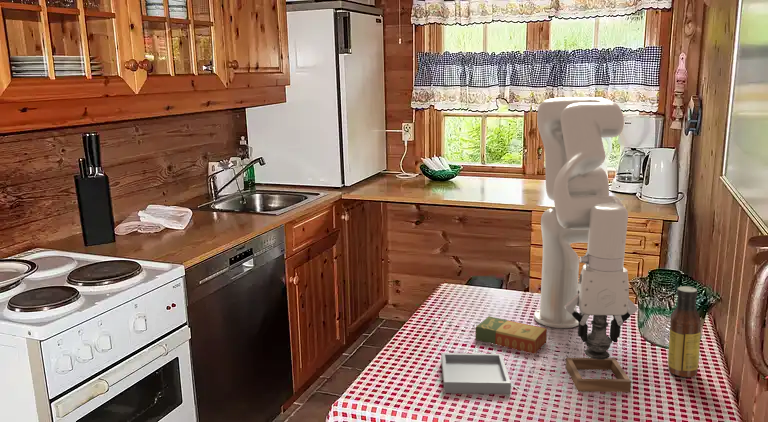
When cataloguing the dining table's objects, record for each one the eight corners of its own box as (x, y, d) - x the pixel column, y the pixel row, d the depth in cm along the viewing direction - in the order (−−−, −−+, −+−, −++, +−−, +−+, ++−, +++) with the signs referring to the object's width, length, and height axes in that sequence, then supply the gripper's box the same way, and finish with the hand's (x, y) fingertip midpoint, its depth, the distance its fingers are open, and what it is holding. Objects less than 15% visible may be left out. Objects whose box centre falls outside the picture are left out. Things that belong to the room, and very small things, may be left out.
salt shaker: (593, 362, 134) (597, 310, 131) (577, 349, 140) (581, 300, 137) (616, 358, 136) (621, 307, 133) (600, 346, 141) (604, 296, 138)
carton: (534, 355, 151) (535, 339, 150) (474, 341, 159) (474, 325, 158) (546, 343, 157) (547, 327, 156) (488, 329, 166) (488, 314, 165)
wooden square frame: (565, 367, 144) (566, 357, 143) (614, 368, 143) (614, 358, 143) (578, 391, 133) (578, 380, 132) (630, 392, 133) (631, 381, 132)
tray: (441, 362, 147) (441, 353, 146) (501, 363, 146) (501, 353, 145) (444, 392, 133) (444, 382, 132) (510, 393, 132) (510, 383, 132)
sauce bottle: (698, 370, 142) (707, 287, 138) (696, 381, 137) (705, 295, 133) (667, 363, 145) (675, 282, 141) (663, 374, 140) (672, 290, 136)
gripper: (568, 267, 129) (562, 347, 134) (652, 268, 128) (644, 348, 133) (559, 255, 137) (554, 331, 141) (639, 256, 136) (632, 332, 140)
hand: (598, 338), depth 137 cm, fingers closed on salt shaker, 5 cm apart
